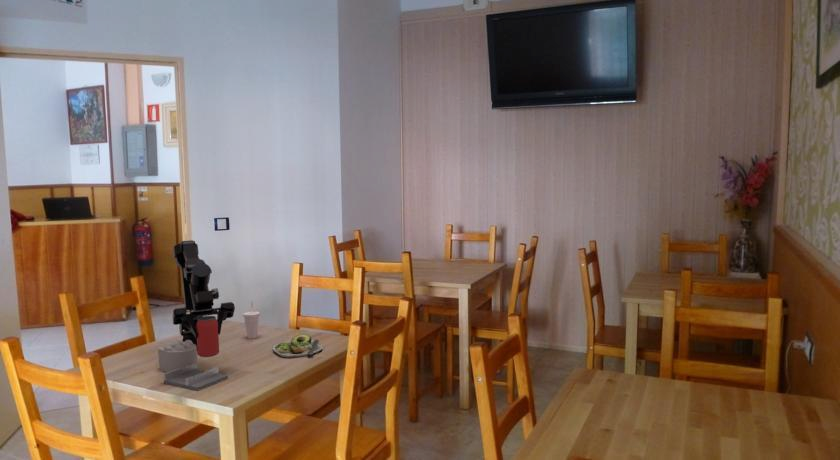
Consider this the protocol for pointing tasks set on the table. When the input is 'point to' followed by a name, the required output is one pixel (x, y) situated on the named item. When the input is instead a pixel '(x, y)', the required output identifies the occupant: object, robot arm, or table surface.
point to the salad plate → (298, 347)
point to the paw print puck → (177, 355)
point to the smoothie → (251, 323)
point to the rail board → (193, 377)
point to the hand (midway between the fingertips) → (208, 335)
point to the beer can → (207, 336)
